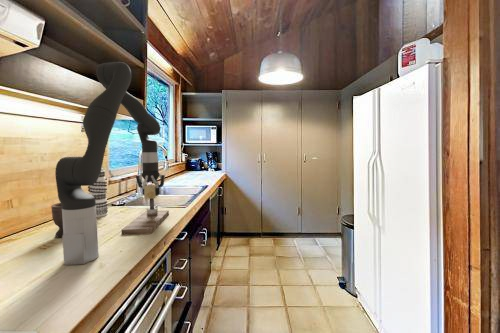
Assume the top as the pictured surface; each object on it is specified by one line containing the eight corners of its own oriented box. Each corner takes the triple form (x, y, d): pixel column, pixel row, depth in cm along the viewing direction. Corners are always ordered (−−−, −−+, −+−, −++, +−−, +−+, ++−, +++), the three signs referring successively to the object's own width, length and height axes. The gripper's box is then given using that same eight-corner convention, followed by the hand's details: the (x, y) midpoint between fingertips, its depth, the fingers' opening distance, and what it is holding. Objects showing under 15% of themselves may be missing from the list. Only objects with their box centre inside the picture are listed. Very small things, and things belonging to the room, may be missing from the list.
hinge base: (151, 233, 113) (150, 207, 112) (121, 234, 112) (120, 208, 111) (168, 214, 145) (168, 193, 144) (145, 214, 144) (145, 194, 143)
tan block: (147, 196, 137) (147, 184, 136) (158, 196, 137) (157, 184, 137) (140, 200, 126) (139, 188, 125) (151, 200, 126) (151, 187, 126)
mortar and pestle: (90, 231, 116) (87, 185, 115) (79, 238, 108) (76, 188, 106) (61, 232, 115) (58, 186, 114) (48, 239, 107) (45, 189, 105)
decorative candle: (92, 213, 147) (89, 167, 145) (110, 212, 150) (108, 167, 148) (86, 217, 139) (83, 169, 137) (106, 216, 141) (103, 168, 139)
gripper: (132, 162, 129) (134, 197, 130) (163, 161, 130) (164, 196, 131) (137, 161, 136) (139, 194, 138) (166, 160, 137) (167, 193, 139)
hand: (151, 195), depth 134 cm, fingers closed on tan block, 5 cm apart
